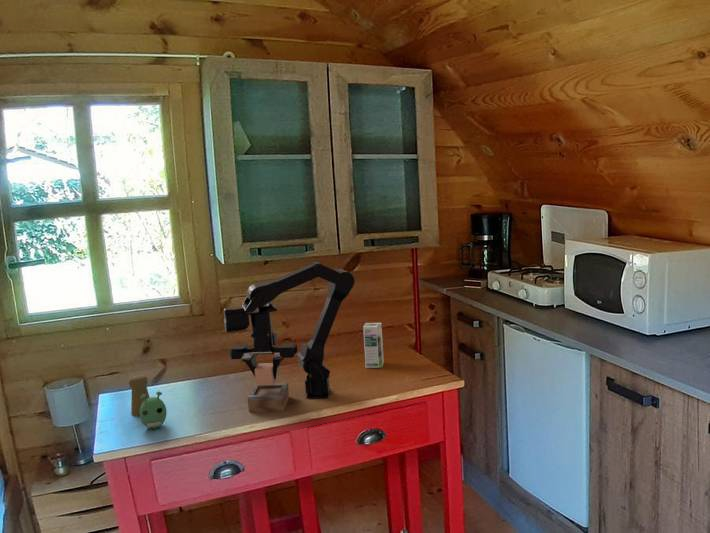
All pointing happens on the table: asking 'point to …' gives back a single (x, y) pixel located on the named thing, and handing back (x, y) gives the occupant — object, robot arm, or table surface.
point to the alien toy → (153, 411)
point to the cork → (138, 392)
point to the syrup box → (373, 345)
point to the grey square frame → (268, 398)
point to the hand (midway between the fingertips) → (266, 379)
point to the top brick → (264, 374)
